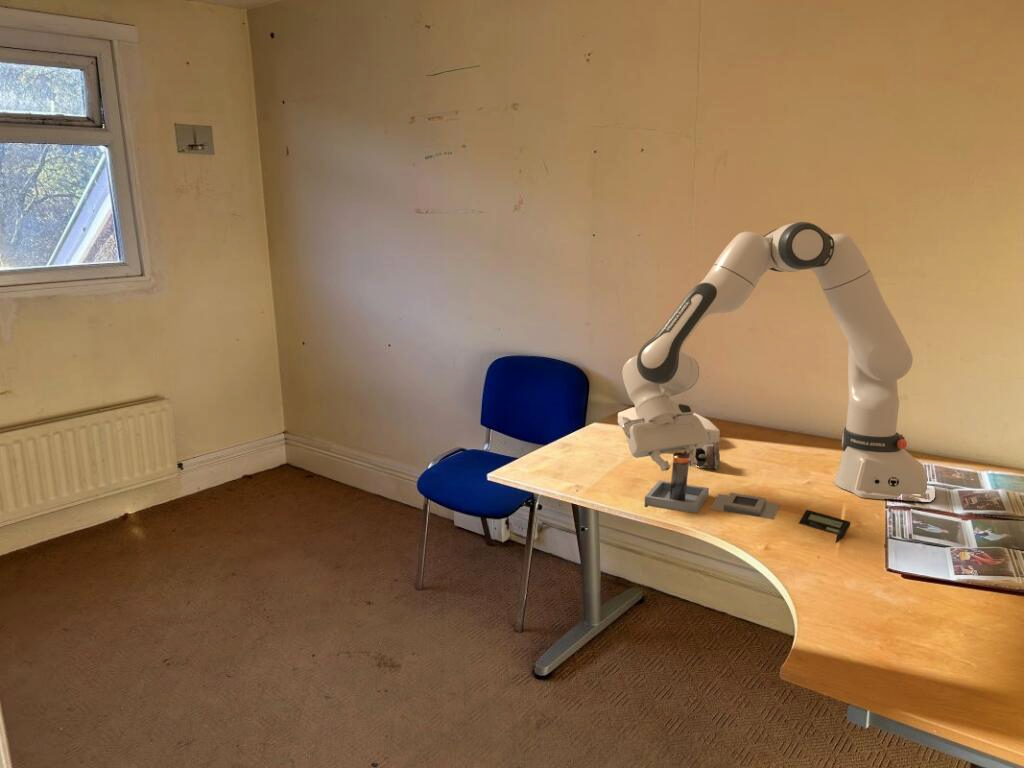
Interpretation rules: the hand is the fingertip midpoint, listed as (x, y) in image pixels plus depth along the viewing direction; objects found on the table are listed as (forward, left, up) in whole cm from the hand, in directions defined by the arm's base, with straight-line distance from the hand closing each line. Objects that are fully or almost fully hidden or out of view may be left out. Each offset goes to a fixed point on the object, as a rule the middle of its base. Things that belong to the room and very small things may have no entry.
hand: (680, 467), depth 172 cm
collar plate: (-15, -3, -9) cm, 17 cm away
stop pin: (0, 0, -8) cm, 8 cm away
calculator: (-31, +5, -9) cm, 32 cm away
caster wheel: (+2, -30, -9) cm, 31 cm away
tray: (0, 0, -9) cm, 9 cm away
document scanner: (+18, -52, -9) cm, 56 cm away
